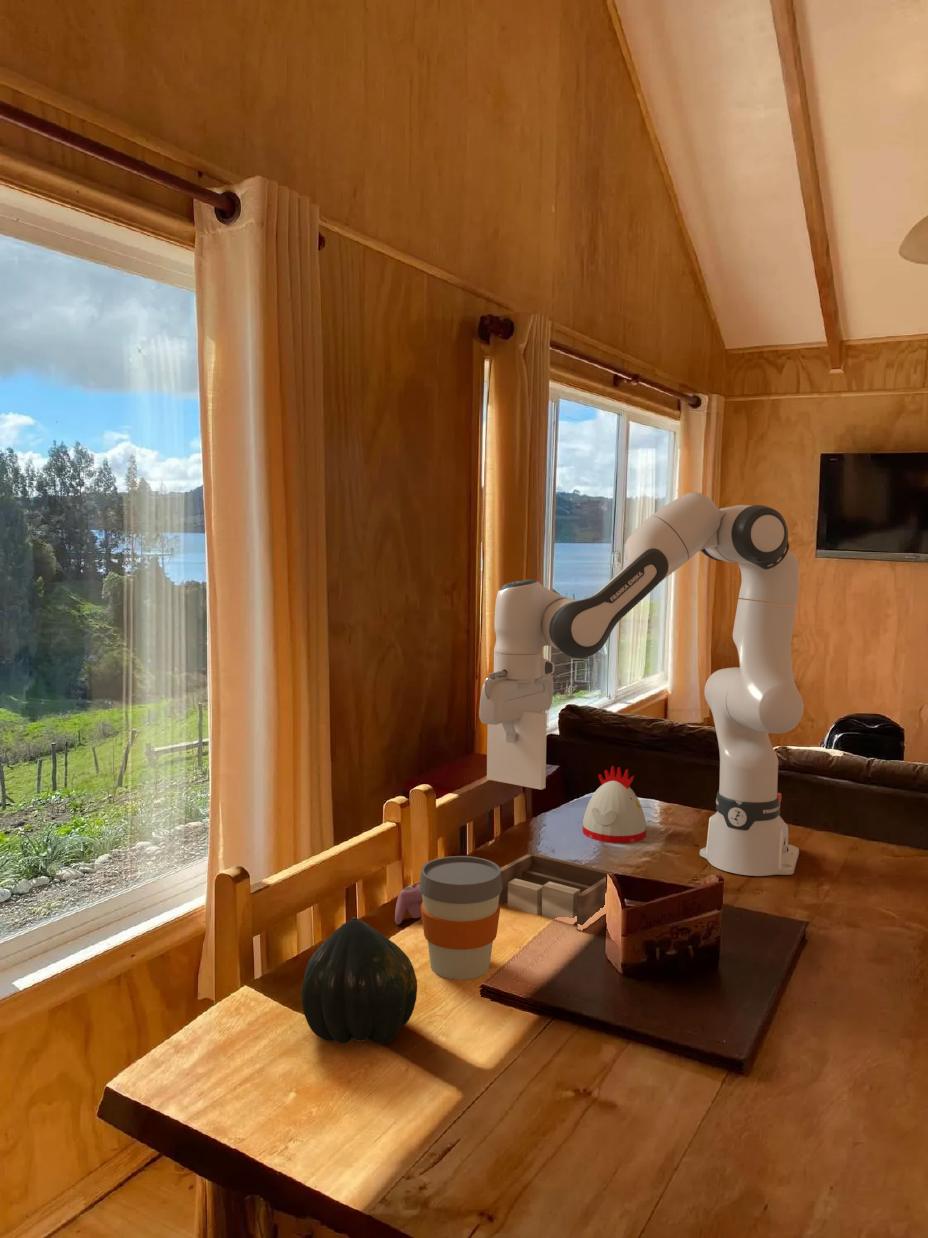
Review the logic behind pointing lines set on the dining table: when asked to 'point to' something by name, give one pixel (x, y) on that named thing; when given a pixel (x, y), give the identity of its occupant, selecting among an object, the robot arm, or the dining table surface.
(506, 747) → the white panel
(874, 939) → the dining table surface
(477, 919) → the reusable coffee cup
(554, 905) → the birch offcut
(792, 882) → the dining table surface
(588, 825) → the kitchen timer
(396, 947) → the squash
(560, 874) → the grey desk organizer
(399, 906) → the video game controller
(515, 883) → the birch offcut
